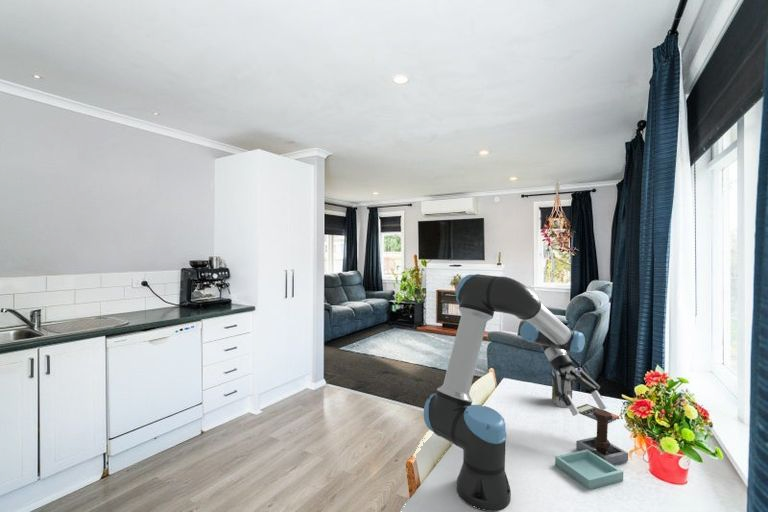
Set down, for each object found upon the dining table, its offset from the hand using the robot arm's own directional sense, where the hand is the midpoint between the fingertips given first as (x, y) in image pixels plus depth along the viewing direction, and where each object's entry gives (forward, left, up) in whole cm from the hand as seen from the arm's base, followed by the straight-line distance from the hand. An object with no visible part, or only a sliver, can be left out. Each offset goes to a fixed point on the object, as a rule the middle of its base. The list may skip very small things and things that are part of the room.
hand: (590, 411), depth 132 cm
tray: (-14, -12, -13) cm, 22 cm away
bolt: (-1, -6, -13) cm, 14 cm away
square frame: (-1, -6, -13) cm, 14 cm away
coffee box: (+20, +32, -13) cm, 40 cm away
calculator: (+26, +19, -13) cm, 35 cm away
